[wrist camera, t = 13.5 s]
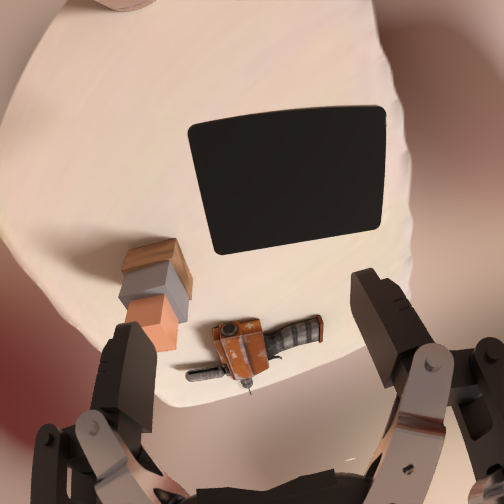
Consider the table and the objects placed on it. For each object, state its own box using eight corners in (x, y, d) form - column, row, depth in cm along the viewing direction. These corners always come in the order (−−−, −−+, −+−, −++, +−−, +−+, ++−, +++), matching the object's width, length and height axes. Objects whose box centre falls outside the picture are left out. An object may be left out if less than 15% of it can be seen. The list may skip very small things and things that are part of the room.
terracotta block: (130, 300, 35) (122, 329, 31) (164, 293, 35) (160, 323, 31) (145, 325, 38) (140, 354, 34) (178, 320, 38) (176, 349, 34)
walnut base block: (129, 249, 43) (121, 269, 38) (176, 237, 42) (172, 257, 38) (148, 287, 47) (144, 308, 43) (192, 278, 47) (191, 299, 43)
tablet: (386, 106, 33) (380, 228, 45) (384, 105, 34) (378, 226, 46) (186, 126, 33) (216, 256, 45) (186, 125, 34) (216, 253, 45)
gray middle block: (126, 273, 39) (118, 297, 35) (169, 260, 39) (165, 284, 34) (148, 306, 43) (143, 331, 39) (189, 296, 43) (187, 321, 38)
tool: (325, 314, 51) (163, 348, 50) (320, 384, 67) (203, 409, 65) (318, 299, 55) (164, 332, 53) (316, 371, 70) (202, 396, 69)
